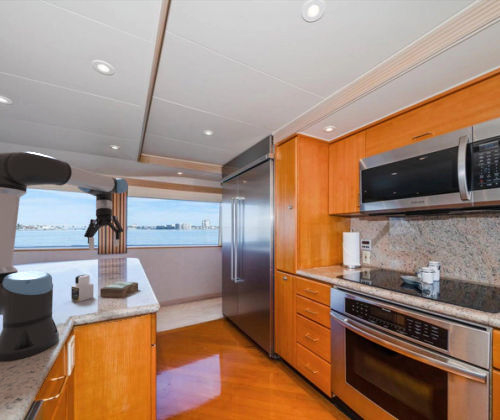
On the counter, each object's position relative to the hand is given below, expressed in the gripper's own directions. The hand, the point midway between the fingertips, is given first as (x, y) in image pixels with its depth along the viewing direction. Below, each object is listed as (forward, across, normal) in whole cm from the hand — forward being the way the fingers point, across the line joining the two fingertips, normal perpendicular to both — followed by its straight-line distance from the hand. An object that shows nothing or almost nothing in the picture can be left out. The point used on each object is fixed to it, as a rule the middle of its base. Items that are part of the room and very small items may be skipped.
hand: (103, 248), depth 124 cm
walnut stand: (+24, 0, -13) cm, 27 cm away
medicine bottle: (+24, +14, -4) cm, 28 cm away
